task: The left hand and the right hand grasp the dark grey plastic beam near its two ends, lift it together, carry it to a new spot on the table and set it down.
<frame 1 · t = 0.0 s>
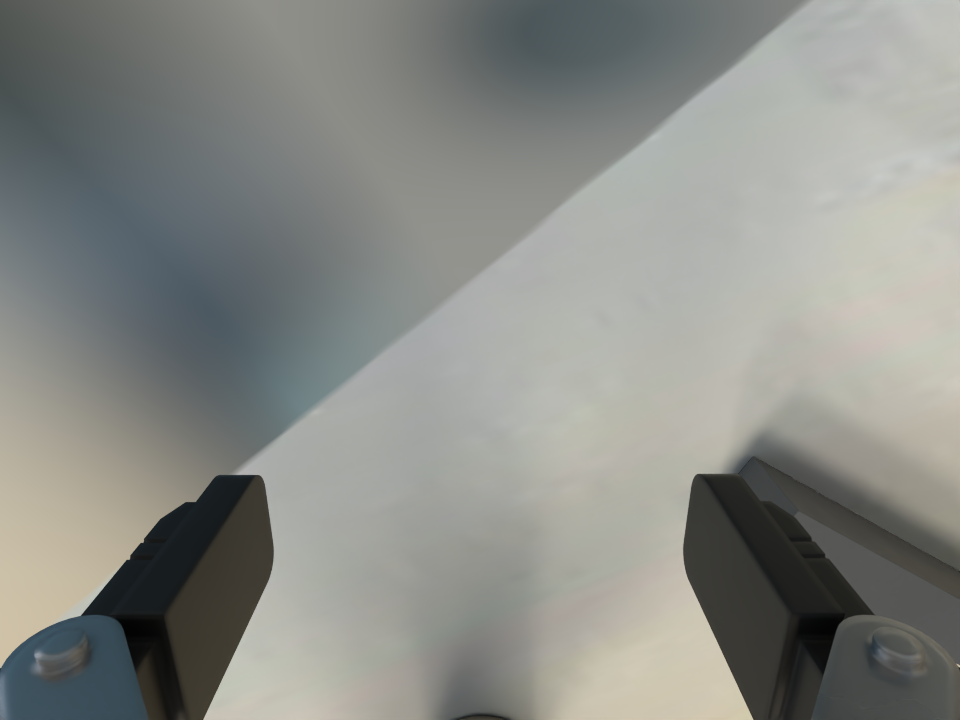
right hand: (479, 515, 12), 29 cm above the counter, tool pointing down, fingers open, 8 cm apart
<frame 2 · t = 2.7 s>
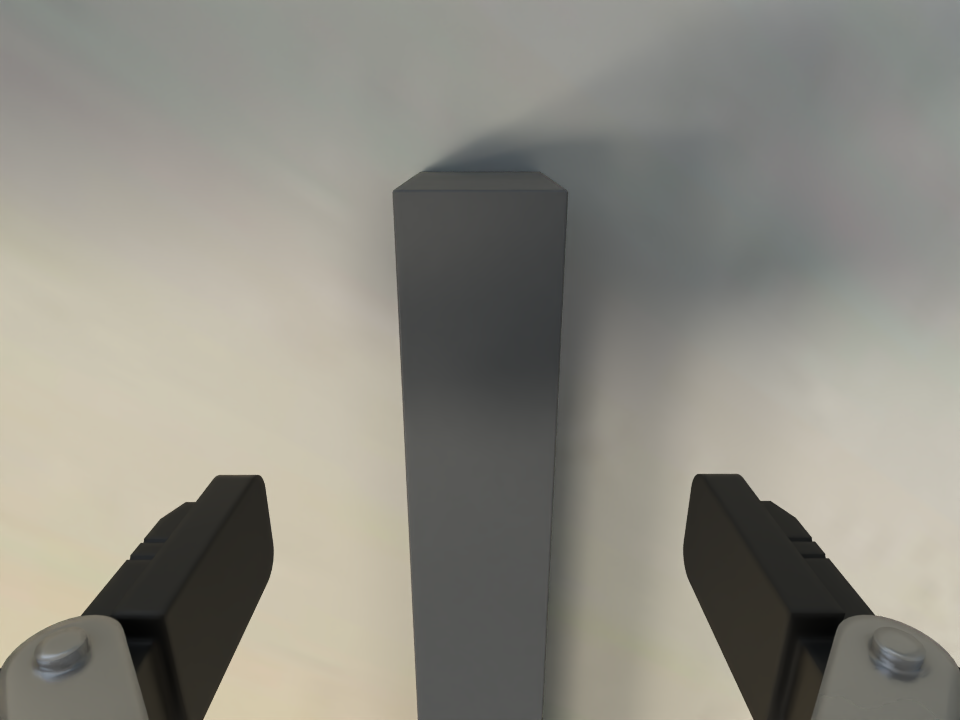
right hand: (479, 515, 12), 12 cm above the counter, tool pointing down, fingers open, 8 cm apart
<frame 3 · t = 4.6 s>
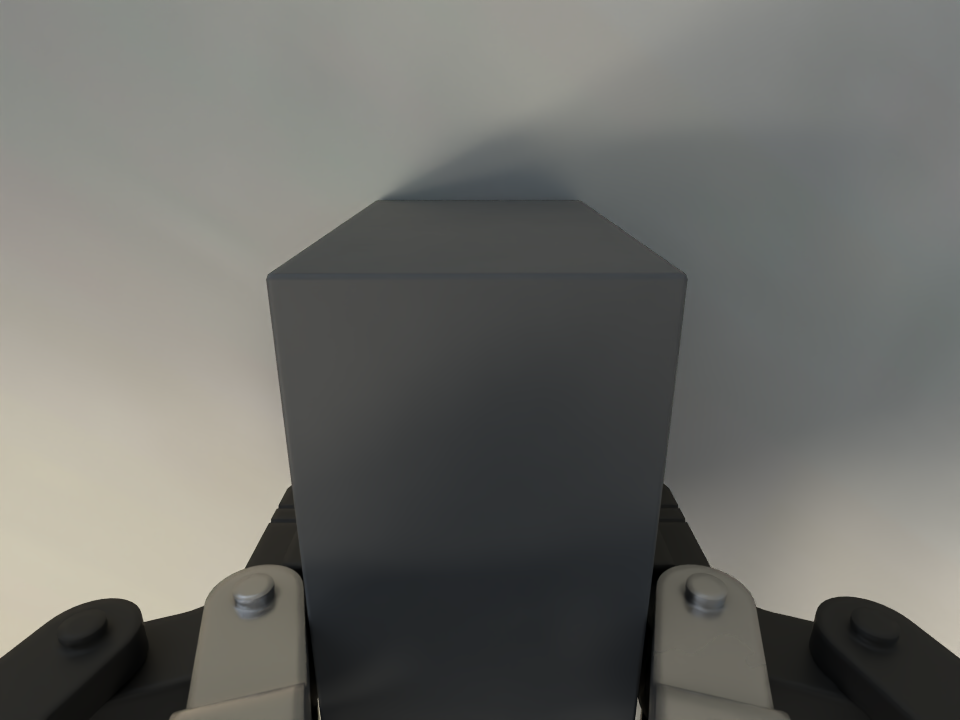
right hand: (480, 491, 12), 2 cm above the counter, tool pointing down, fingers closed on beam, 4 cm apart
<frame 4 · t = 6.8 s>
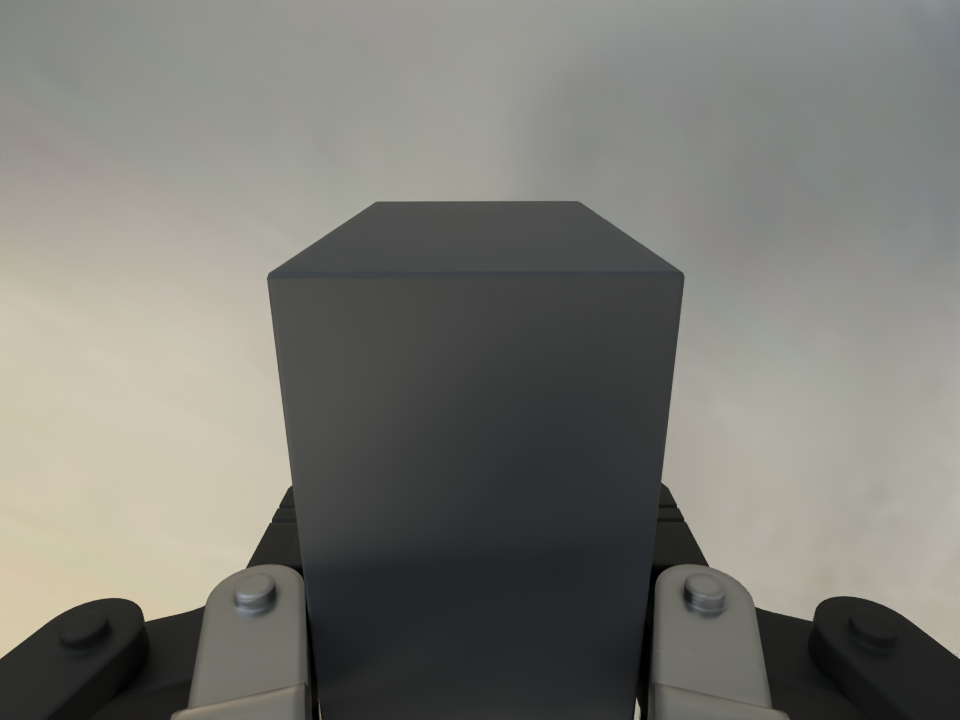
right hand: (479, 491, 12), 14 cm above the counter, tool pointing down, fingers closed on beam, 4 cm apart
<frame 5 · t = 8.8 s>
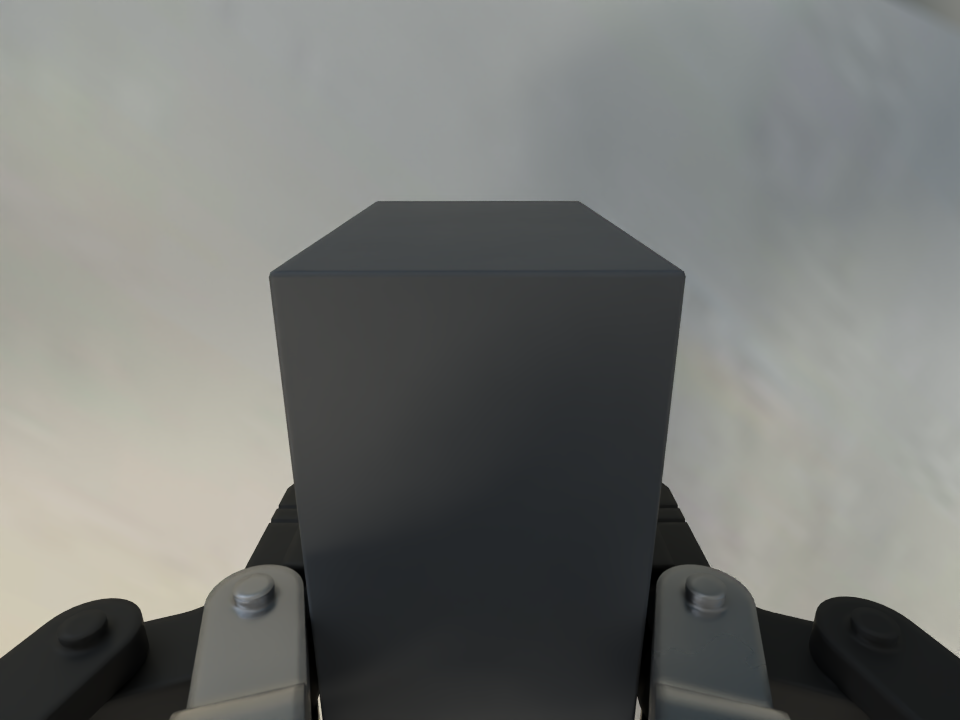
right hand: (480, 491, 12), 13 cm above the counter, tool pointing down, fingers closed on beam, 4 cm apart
when the left hand's fingers open (3 cm above the counter, at t = 10.8 s): beam stays where it is, on the counter.
when the right hand's fingers open (3 cm above the counter, at t = 10.8 s): beam stays where it is, on the counter.
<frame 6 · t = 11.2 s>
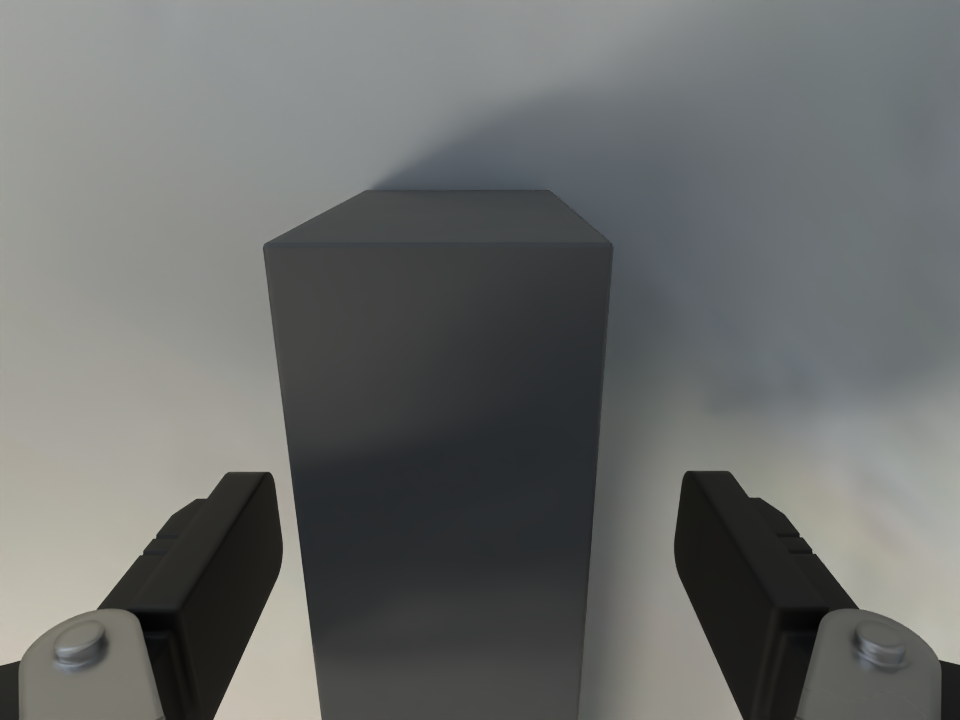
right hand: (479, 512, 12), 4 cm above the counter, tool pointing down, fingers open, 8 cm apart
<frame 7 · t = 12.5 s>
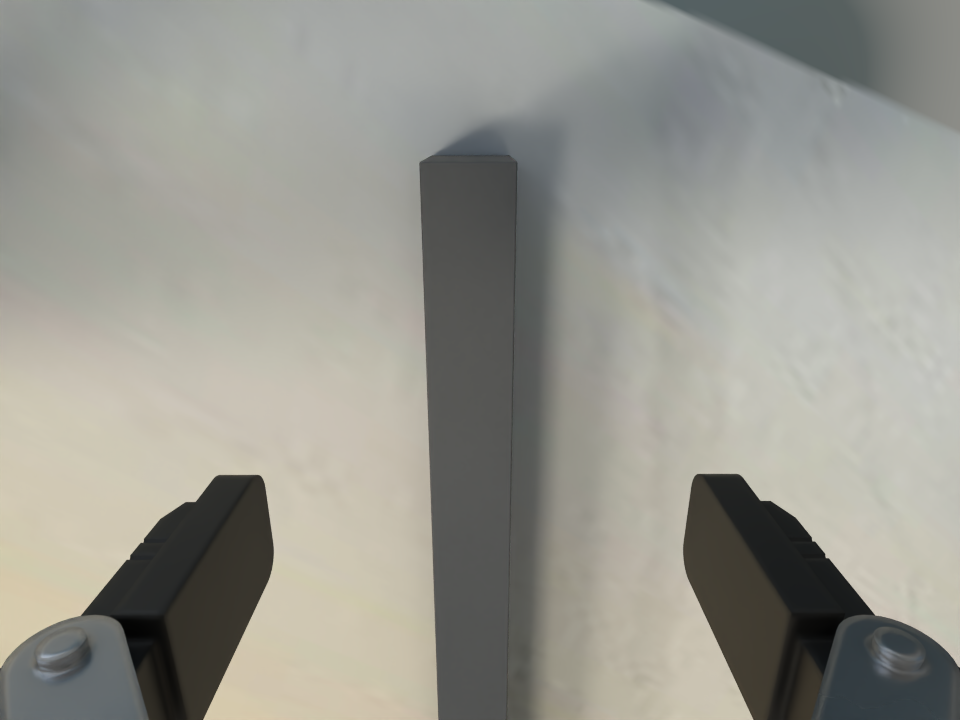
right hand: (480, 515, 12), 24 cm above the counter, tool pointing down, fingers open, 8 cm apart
beam: (474, 698, 46), on the counter
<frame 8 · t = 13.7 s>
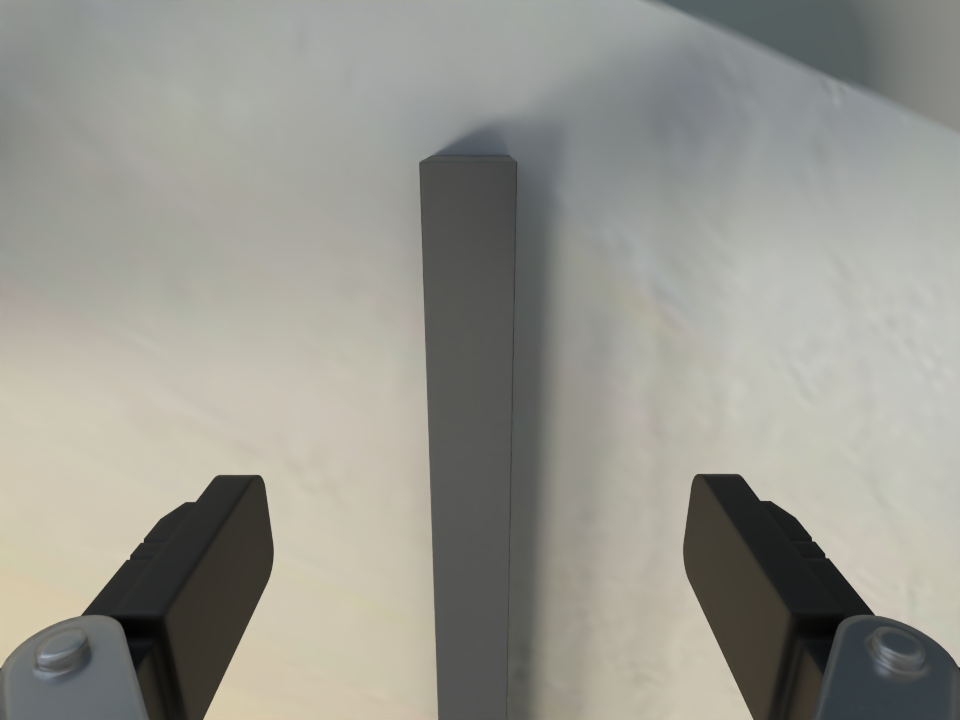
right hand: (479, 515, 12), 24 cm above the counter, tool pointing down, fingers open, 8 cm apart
beam: (473, 697, 46), on the counter
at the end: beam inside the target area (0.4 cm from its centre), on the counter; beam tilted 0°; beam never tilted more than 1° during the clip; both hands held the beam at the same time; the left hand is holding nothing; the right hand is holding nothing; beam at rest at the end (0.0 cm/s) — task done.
